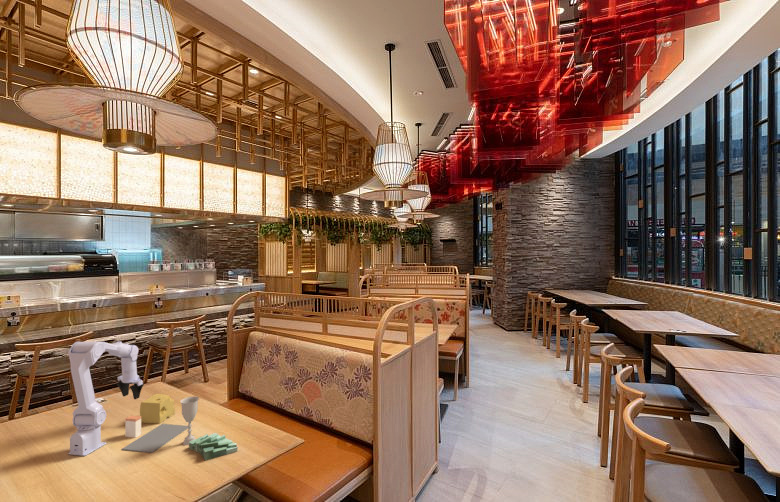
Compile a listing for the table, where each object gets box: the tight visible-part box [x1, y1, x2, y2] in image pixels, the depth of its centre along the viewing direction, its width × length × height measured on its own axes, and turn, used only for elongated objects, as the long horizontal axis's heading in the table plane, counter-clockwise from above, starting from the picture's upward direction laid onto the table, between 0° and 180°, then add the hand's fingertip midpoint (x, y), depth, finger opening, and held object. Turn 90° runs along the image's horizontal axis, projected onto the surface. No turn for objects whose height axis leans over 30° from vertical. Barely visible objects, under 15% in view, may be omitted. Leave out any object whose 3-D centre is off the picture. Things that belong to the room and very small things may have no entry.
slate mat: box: [121, 423, 188, 454], centre depth 160 cm, size 22×14×1 cm, turn 172°
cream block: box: [124, 414, 142, 439], centre depth 162 cm, size 3×5×8 cm, turn 82°
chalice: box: [179, 395, 200, 446], centre depth 156 cm, size 7×7×18 cm
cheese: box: [139, 393, 176, 425], centre depth 178 cm, size 10×11×10 cm
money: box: [188, 432, 239, 461], centre depth 151 cm, size 20×16×5 cm
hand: (131, 396), depth 176 cm, fingers open, 7 cm apart
